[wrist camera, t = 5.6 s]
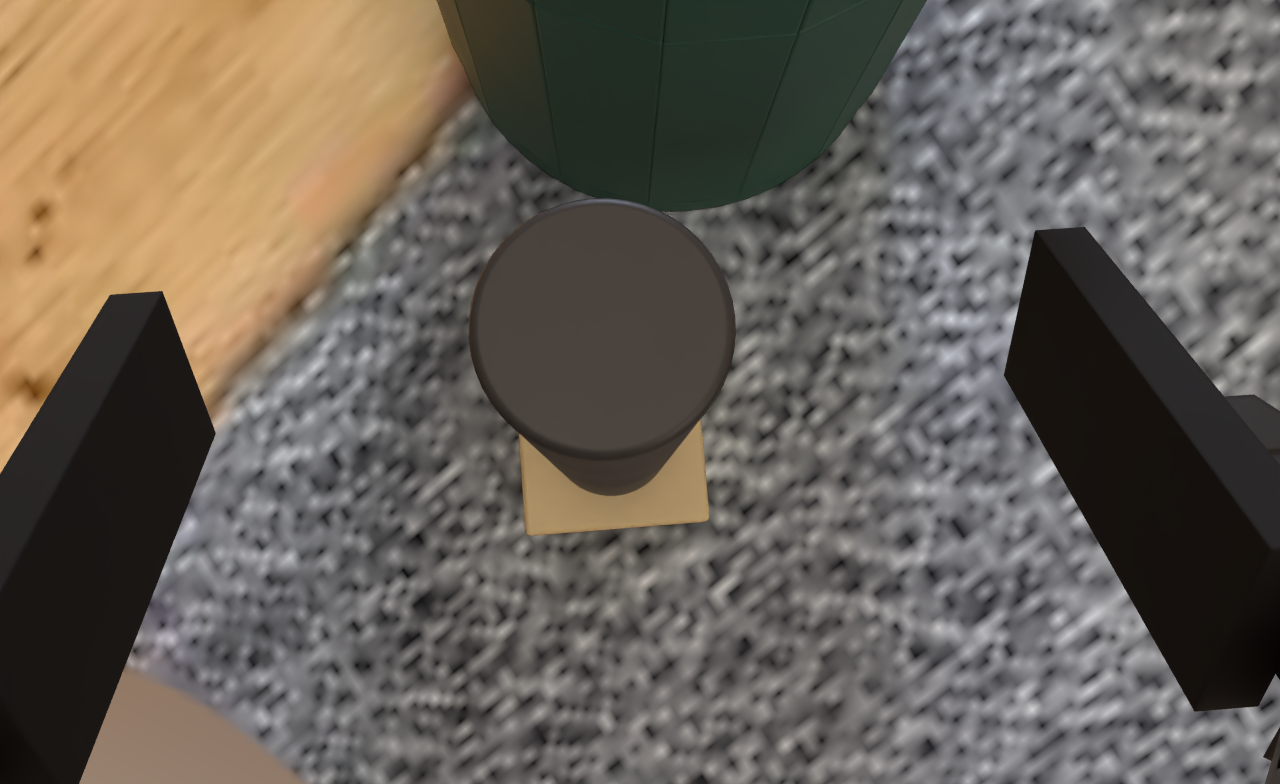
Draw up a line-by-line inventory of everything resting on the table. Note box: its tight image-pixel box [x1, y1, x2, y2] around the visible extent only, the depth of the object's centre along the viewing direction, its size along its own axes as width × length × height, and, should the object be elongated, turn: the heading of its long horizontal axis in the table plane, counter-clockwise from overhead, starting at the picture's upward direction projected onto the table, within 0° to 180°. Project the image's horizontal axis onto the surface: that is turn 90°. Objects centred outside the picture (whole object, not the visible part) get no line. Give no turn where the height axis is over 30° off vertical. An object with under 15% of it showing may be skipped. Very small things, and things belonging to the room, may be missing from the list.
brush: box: [469, 198, 736, 536], centre depth 17 cm, size 3×3×16 cm
